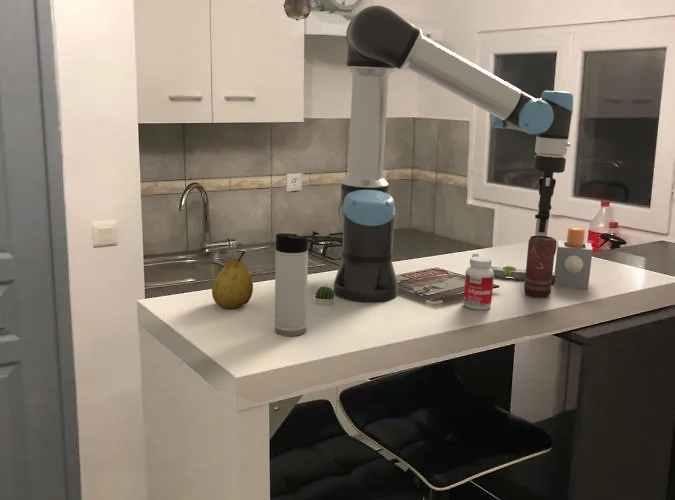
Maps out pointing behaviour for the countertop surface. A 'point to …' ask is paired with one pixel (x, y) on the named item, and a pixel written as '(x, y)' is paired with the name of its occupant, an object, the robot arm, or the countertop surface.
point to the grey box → (573, 265)
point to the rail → (518, 274)
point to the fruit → (232, 285)
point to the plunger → (575, 237)
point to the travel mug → (291, 284)
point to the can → (539, 266)
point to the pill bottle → (478, 284)
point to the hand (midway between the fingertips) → (540, 239)
